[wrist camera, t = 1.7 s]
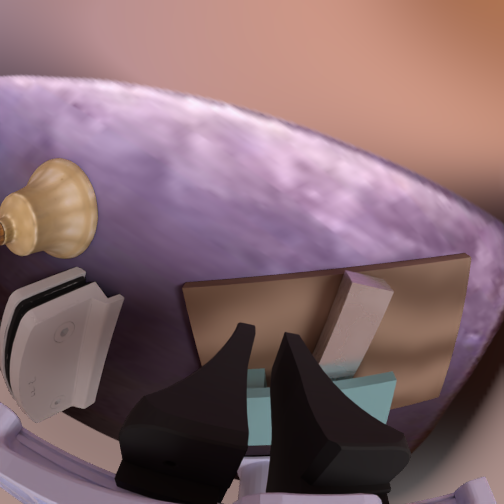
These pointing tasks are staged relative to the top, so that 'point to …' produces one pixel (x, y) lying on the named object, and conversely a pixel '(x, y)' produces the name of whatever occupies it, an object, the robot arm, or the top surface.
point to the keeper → (357, 389)
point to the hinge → (56, 343)
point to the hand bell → (51, 212)
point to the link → (351, 324)
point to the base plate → (318, 308)
